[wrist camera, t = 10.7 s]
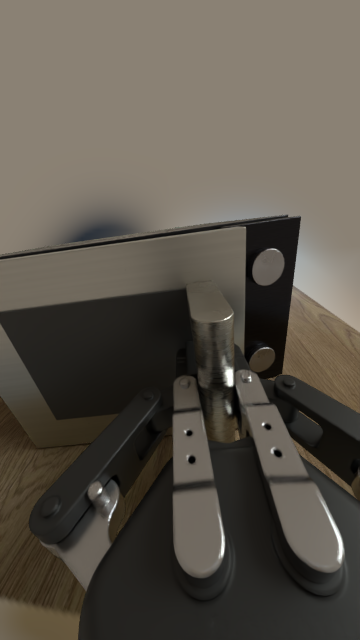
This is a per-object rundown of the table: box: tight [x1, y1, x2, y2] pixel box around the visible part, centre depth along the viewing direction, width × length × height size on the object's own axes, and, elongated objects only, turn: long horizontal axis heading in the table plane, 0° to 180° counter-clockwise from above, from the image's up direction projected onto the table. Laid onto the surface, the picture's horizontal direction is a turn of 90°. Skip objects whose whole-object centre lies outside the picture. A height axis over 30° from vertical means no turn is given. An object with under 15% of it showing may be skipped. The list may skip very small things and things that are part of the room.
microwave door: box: [0, 227, 246, 448], centre depth 14 cm, size 8×21×18 cm, turn 91°
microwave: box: [0, 215, 301, 379], centre depth 29 cm, size 24×28×18 cm
